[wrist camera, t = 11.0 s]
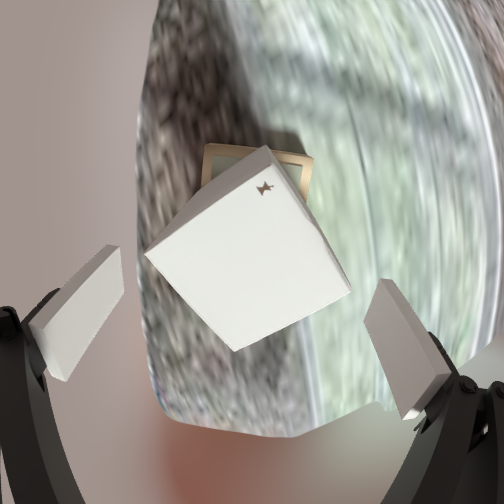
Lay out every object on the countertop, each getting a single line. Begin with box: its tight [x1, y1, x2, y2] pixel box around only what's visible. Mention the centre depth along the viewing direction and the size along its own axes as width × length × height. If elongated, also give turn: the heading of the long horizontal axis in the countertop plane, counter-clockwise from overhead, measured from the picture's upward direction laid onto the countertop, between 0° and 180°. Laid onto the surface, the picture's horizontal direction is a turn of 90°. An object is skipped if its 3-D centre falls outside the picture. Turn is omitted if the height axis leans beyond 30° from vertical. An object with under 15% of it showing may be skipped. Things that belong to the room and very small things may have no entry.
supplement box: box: [145, 145, 352, 352], centre depth 22 cm, size 9×9×15 cm
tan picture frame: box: [201, 143, 314, 203], centre depth 31 cm, size 11×11×4 cm
